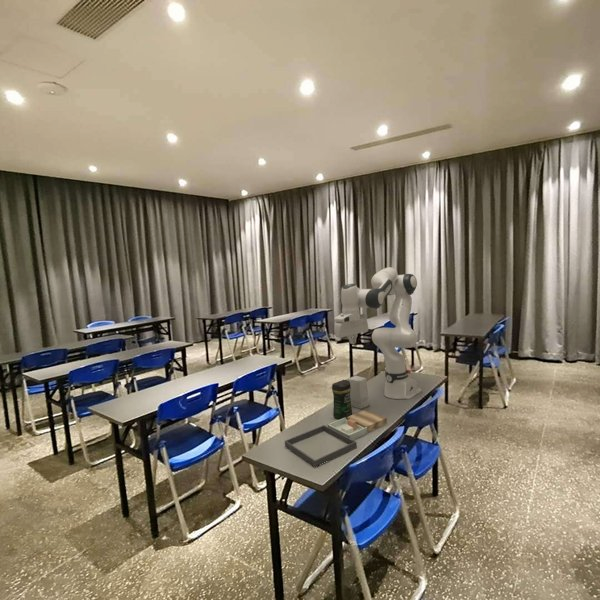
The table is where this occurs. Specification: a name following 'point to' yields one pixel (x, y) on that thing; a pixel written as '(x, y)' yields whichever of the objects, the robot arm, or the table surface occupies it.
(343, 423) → the tray
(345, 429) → the cream tile
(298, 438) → the mat rim
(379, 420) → the oak board
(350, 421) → the terracotta tile
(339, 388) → the coffee jar
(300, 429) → the table surface
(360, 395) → the skincare box
